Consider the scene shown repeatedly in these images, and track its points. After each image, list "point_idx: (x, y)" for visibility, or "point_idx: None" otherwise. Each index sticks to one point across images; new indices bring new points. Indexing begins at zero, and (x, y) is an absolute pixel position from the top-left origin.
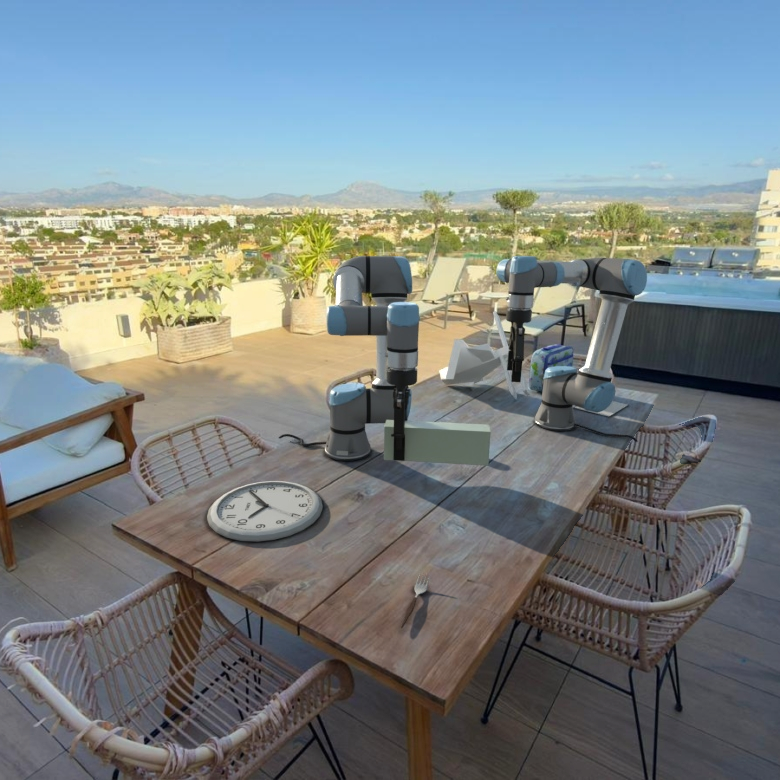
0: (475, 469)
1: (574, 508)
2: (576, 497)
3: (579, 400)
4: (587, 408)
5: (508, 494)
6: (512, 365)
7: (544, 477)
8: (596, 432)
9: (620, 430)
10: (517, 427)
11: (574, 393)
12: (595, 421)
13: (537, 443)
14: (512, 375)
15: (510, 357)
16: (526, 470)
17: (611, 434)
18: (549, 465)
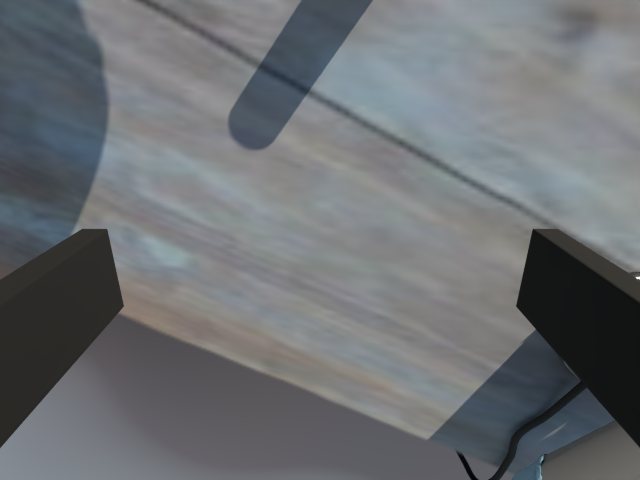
0: (215, 23)
1: None
2: None
3: (563, 467)
4: (531, 465)
5: (70, 125)
6: (551, 303)
7: (212, 240)
8: (534, 419)
9: None
10: (604, 209)
11: (601, 476)
12: None
13: (457, 255)
14: (40, 262)
15: (631, 334)
16: (247, 197)
17: (512, 448)
18: (295, 265)
